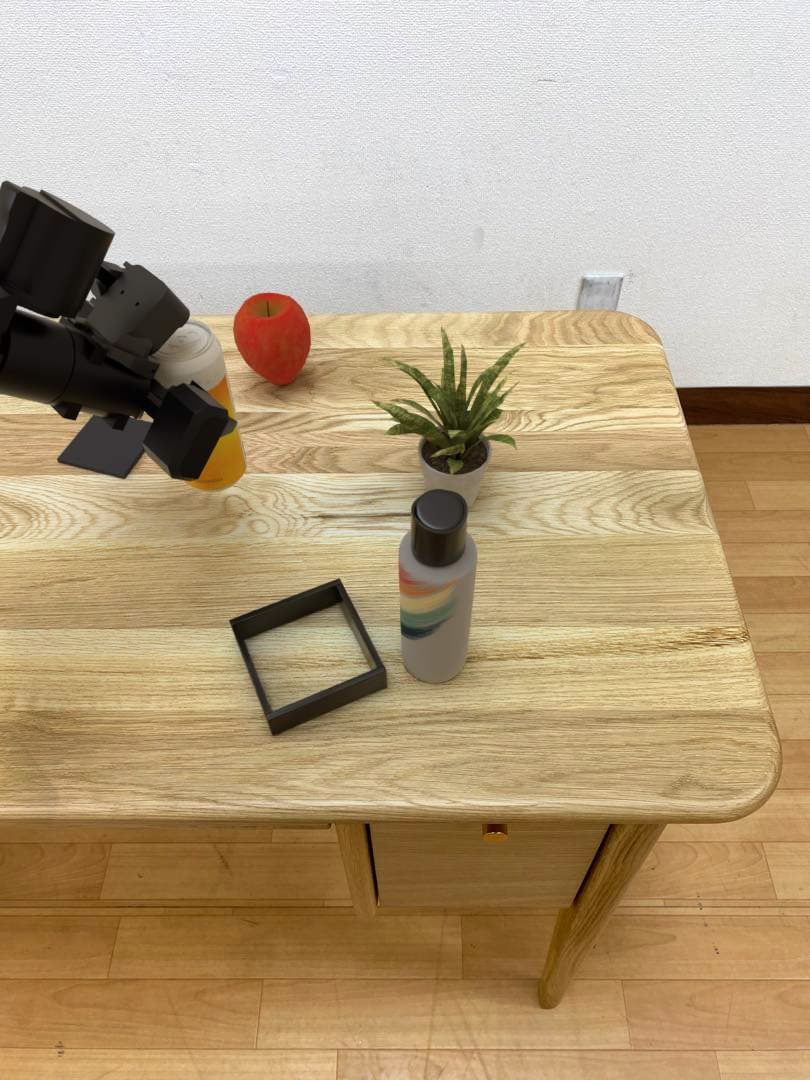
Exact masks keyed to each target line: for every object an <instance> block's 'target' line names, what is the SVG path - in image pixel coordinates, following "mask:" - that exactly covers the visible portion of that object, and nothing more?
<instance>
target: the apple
mask: <svg viewBox="0 0 810 1080" xmlns="http://www.w3.org/2000/svg"><path fill="white" fill-rule="evenodd" d="M232 332H233V339H234V343H235V346H236V348H237V350H238V352H239V354H240V355H241V358H242V359H243V361H244V362H245V364H246V365H247V366H248V367H249V368H250V369H251V370H252V371H253V372H254V373H256V374H257V375H259V376H260V377H262V378H263V379H264V380H266V381H267V382H270V383H271V384H273V385H275V386H285V385H289V384H291V383H292V382H293V381H294V380H295V379H296V377H297V376H298V374H299V373H300V372H301V371H302V369H303V368H304V366H305V365H306V361H307V359H308V357H309V354H310V351H311V348H312V347H311V346H312V337H311V336H312V335H311V325H310V321H309V319H308V316H307V315H306V313H305V310H304V308H303V307H302V306H301V304H300V303H298V302H297V301H296V300H295V299H294V298H293V297H291V296H290V295H287V294H284V293H283V294H282V293H278V292H260V293H257V294H253V295H251V296H250V297H248V298H247V299H245V300H244V301H243V303H242V304H241V306H240V308H239V309H238V310H237V312H236V313H235V315H234V318H233V326H232Z"/></svg>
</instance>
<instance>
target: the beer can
mask: <svg viewBox="0 0 810 1080" xmlns="http://www.w3.org/2000/svg"><path fill="white" fill-rule="evenodd" d="M147 357H150V358H153V359H155V360H156V361H157V362H158V363H160V366H159V368H158V370H157V372H156V374H155V376H154V377H156V378H157V379H158V380H159V381H160V382H161V383H162V384H164V385H165V386H166V387H167V388H168V389H169V388H170V387H171V386H173V385H175V386H178V385H180V384H182V383H186V384H189V385H190V383H191V381H192V380H193V381H195V382H196V383H197V384H198V385H199V386H201V387H202V388H203V389H204V390H205V391H207V392H208V393H209V394H210V395H211V396H212V397H213V398H214V399H215V400H217V401H218V402H219V403H220V404H221V405H223V406H224V407H225V408H226V409H227V410H228V415H229V417H231V418H233V419H235V420H236V421H237V425H236V427H235V429H234V431H233V432H232V433H230V434H228V435H225V436H223V437H220V439H219V441H218V443H217V445H216V446H215V448H214V450H213V452H212V454H211V456H210V458H209V460H208V462H207V464H206V466H205V467H204V469H203V471H202V473H201V475H200V477H199V479H198V480H194V481H191V482H190V481H184V482H185V484H187V486H189V487H191V488H193V489H196V490H198V491H201V492H204V493H217V492H218V493H219V492H223V491H225V490H228V489H230V488H232V487H233V486H234V485H236V484H237V483H238V482H239V481H240V479H241V478H242V477H243V476H244V474H245V473H246V470H247V468H248V459H247V456H246V450H245V447H244V442H243V438H242V437H243V436H242V433H241V427H240V425H239V419H238V415H237V410H236V407H235V402H234V397H233V393H232V388H231V384H230V380H229V375H228V370H227V366H226V362H225V357H224V352H223V348H222V344H221V341H220V339H219V337H217V335H216V334H215V333H214V332H213V329H212V328H211V327H210V325H208V324H207V323H205V322H203V321H201V320H198V319H194V318H189V319H188V321H187V323H186V324H185V325H184V326H183V327H182V328H178V329H177V331H176V332H175V333H174V334H173V335H172V336H171V337H170V338H169V339H168V340H167V342H166V343H165V344H164V345H163V346H162V347H161V348H160V349H159V350H158V351H157V352H156V353H154V354H153V355H149V356H147Z"/></svg>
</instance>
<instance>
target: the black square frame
mask: <svg viewBox="0 0 810 1080" xmlns="http://www.w3.org/2000/svg"><path fill="white" fill-rule="evenodd" d="M336 605H339V608H340V610H341V612H342V614H343V615H344V618H345V619H346V621H347V624H348V625H349V627H350V629H351V632H352V634H353V636H354V638H355V640H356V642H357V645H358V646H359V648H360V650H361V652H362V654H363V656H364V658H365V660H366V662H367V664H368V666H369V669H370V670H368V671H366V672H363V673H361V674H359V675H356V676H354V677H351V678H349V679H347V680H344V681H342V682H339V683H337V684H336V685H332V686H330V687H327V688H325V689H323V690H320V691H318V692H316V693H313V694H311V695H308V696H306V697H303V698H302V699H299V700H296V701H294V702H292V703H290V704H287V705H284V706H281V707H280V708H277V709H275V710H272V707H271V705H270V702H269V699H268V698H267V695H266V692H265V690H264V687H263V685H262V681H261V679H260V677H259V674H258V671H257V670H256V666H255V663H254V662H253V661H254V660H253V658H252V656H251V654H250V651H249V648H248V646H247V644H246V640H249V639H251V638H253V637H256V636H258V635H261V634H263V633H266V632H268V631H271V630H275V629H277V628H279V627H281V626H285V625H287V624H289V623H292V622H294V621H297V620H300V619H302V618H305V617H307V616H310V615H312V614H315V613H318V612H320V611H322V610H326V609H328V608H332V607H333V606H336ZM228 622H229V625H230V628H231V630H232V633H233V636H234V639H235V642H236V644H237V646H238V649H239V652H240V654H241V657H242V659H243V662H244V665H245V667H246V670H247V672H248V675H249V679H250V681H251V683H252V686H253V689H254V691H255V694H256V696H257V699H258V702H259V704H260V707H261V710H262V712H263V714H264V717H265V720H266V722H267V725H268V728H269V731H270V733H271V735H272V737H275V736H277V735H280V734H282V733H284V732H286V731H289V730H290V729H294V728H295V727H298V726H300V725H302V724H305V723H307V722H310V721H312V720H315V719H317V718H319V717H321V716H324V715H326V714H328V713H331V712H333V711H336V710H338V709H341V708H343V707H345V706H347V705H350V704H352V703H354V702H356V701H357V702H358V701H359V700H362V699H364V698H366V697H368V696H369V697H370V696H371V695H374V694H376V693H378V692H380V691H382V690H383V691H384V690H385V689H388V674H387V673H388V672H387V668H386V667H385V665H384V663H383V661H382V659H381V657H380V654H379V653H378V651H377V649H376V646H375V644H374V643H373V641H372V639H371V636H370V635H369V633H368V631H367V629H366V627H365V625H364V623H363V621H362V619H361V617H360V616H359V613H358V611H357V609H356V607H355V605H354V604H353V601H352V600H351V597H350V596H349V593H348V592H347V590H346V588H345V585H344V584H343V582H342V580H341V578H340V577H339V578H336V579H333V580H331V581H328V582H326V583H322V584H320V585H317V586H315V587H312V588H309V589H307V590H304V591H302V592H300V593H296V594H294V595H290V596H288V597H286V598H283V599H281V600H278V601H275V602H272V603H270V604H267V605H265V606H262V607H260V608H257V609H254V610H251V611H249V612H246V613H244V614H241V615H239V616H236V617H233V618H231V619H229V620H228Z"/></svg>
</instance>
